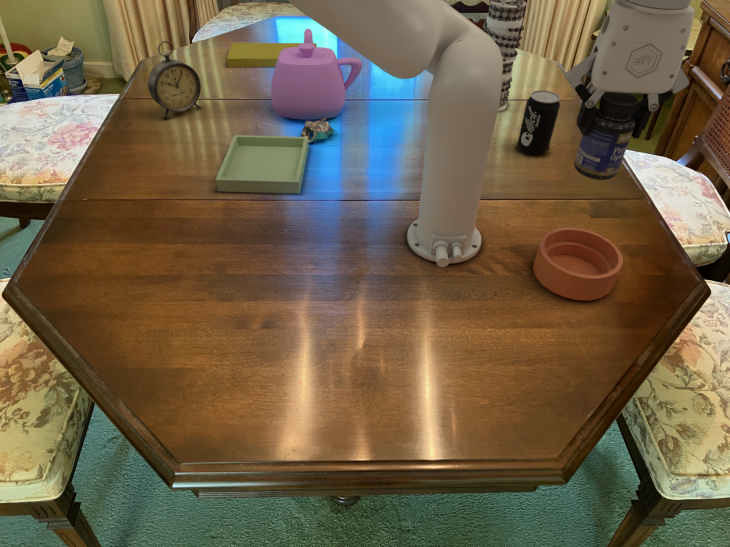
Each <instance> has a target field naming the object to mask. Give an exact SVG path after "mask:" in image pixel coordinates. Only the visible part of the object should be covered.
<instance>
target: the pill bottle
mask: <svg viewBox="0 0 730 547" xmlns="http://www.w3.org/2000/svg"><path fill="white" fill-rule="evenodd" d="M638 101H639V99H638V98H637V97H636V96H635V95H633V94H632V93H622V92H606V91H605V93H604V94H603V95H602V96H601V98H600V99H599V100H598V102H599V103H598V104H599V105H598V107H596V109H597V112H596V115H595V118H594V121H593V124H592V127H591V130H590V133H589V135H587V136H583V135H582V136H581V139H580V143H579V146H578V149H577V152H576V155H575V159H574V162H573V166H574V169H575V170H576V171H577V172H578V173H579V174H580V175H581V176H583V177H586V178H589V179H591V180H598V181H606V180H610V179H613V178H614V177H615V176H616V175H617V174H618V172H619V169H620V167H621V164H622V161H623V158H624V156H625V154H626V151H627V149H628V146H629V143H630V141H631V138H632V133H633V130H634V128H635V125H636V121H635V118H634V116H633V115H632V113H633V112H634V111H635V110H636V107H637V105H638Z"/></svg>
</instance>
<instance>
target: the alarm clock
mask: <svg viewBox="0 0 730 547" xmlns="http://www.w3.org/2000/svg"><path fill="white" fill-rule="evenodd" d="M165 43H167V44H168V45H169V46H170V48H171V50H170V53H169V54H168V53H165V54H162V52H161V51H160V48H161V45H163V44H165ZM173 48H174V47H173V45H172V43H171V42H170V41H167V40H163V41H161V42H160V43H159V44H158V47H157V51H158V54H159V55H160V56H161V57H163V58H165V59H163V60H161V61H159V62H157V63H156V64H155V65H154V66H153V67H152V68H151V70H150V72H149V74H148V79H147V89H148V92H149V95H150V96H151V98H152V100H153V101H154V102H155V103H156V104H157V105H159V106H160V107H162V108H164V109H165V111H164V116H162V117H163V119H164V120H167V116H168V115H169V113H170V112H172V113H183V112H186V111H189V110H190V109H191V108H193V107H194V106H195V107H196V108H197V109H200V108H201V106H200V105H198V100H199V98H200V95H201V90H202V85H201V79H200V76H199V74H198V73H197V71H196V70H195V69H194V68H193V67H192V66H191V65H189V64H187V63H185V62H183V61H181V60H179V59H174V58H170V56H171V55H172V54H173Z"/></svg>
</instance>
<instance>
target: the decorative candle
mask: <svg viewBox="0 0 730 547" xmlns="http://www.w3.org/2000/svg"><path fill="white" fill-rule="evenodd" d="M488 2H489V7H488V13H487V15H486V19H485V21H484V23H483V24H482V31H484V32H485V33H486V34H487V35H488V36H489V37H491V38H492V39H493V40H494V42H495V43H496V44H497V46H498V47H499V49H500V52H501V55H502V61H503V70H502V86H501V96H500V103H499V108H498V112H502V111H504V110H505V109H507V106H508V105H507V104H508V103H509V96H510V89H511V88H512V87H511V86H512V85H511V83H512V82H513V77H512V74H513V66H514V62H515V61H516V60H517V57H518V54H519V52H518V51H517V48H519V47H521V43H520V42H519V41H521V40H522V39H523V37H522V35H521V34H520V32H523V31H524V30H525V26H524V25H523V22H524V11H525V7H526V6H527V4H528V3H527V2H526V1H525V0H488Z"/></svg>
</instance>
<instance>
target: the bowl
mask: <svg viewBox="0 0 730 547" xmlns="http://www.w3.org/2000/svg"><path fill="white" fill-rule="evenodd" d="M533 261H534V262H533V264H532V265H533V266H532V270H533V273H534V276H535V278H536V279H537V280H538V281H539V283H540V284H541V285H542V286H543V287H545V288H546V289H547V290H549V291H550V292H552V293H554V294H556V295H558V296H560V297H563V298H566V299H570V300H574V301H588V302H589V301H594V300H599V299H602V298H604V297H605V296H607V295H609V294H610V293H611V291H612V289H613V288H614V286H615V283H616V281H617V279H618V276H619V275H620V272H621V270H622V267H623V266H624V256H623V254H622V251H621V250H620V248H618V246H617V245H616V244H615V243H613V241H612V240H610V239H608V238H607V237H605V236H604V235H602V234H600V233H598V232H594V231H592V230H590V229H587V228H586V229H585V228H582V227H581V228H580V227H572V226H569V227H568V226H564V227H558V228H554V229H551V230H549V231H548V232H547V231H546V233H545V234H543V236H542V237H541V238H540V240H539V244H538V247H537V250H536V254H535V257H534V260H533Z"/></svg>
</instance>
